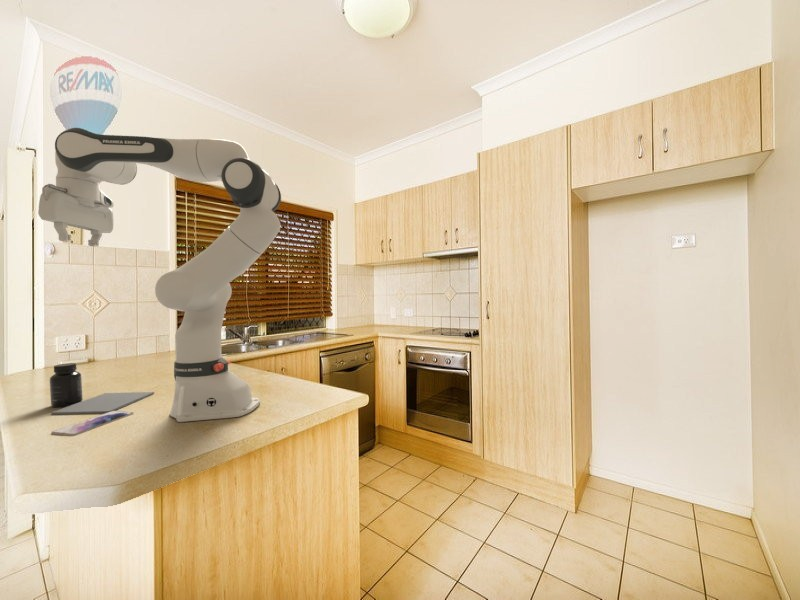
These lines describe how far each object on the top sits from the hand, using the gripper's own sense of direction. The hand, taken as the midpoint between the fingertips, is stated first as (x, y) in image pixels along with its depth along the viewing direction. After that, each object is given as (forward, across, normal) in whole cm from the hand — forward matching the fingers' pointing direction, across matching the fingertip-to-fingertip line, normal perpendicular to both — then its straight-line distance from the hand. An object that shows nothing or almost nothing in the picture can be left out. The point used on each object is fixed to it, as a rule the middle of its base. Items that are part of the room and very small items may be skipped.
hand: (79, 244), depth 94 cm
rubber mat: (+47, +8, -1) cm, 47 cm away
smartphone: (+47, -9, -10) cm, 49 cm away
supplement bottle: (+47, +8, +11) cm, 49 cm away
